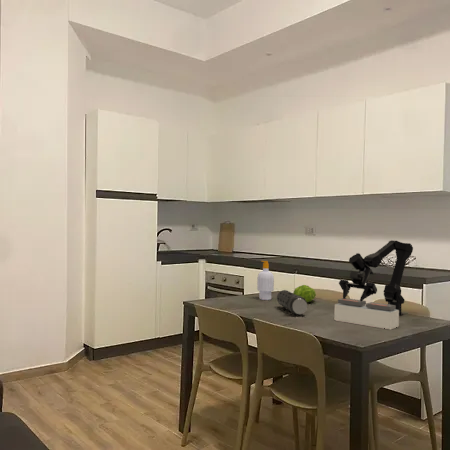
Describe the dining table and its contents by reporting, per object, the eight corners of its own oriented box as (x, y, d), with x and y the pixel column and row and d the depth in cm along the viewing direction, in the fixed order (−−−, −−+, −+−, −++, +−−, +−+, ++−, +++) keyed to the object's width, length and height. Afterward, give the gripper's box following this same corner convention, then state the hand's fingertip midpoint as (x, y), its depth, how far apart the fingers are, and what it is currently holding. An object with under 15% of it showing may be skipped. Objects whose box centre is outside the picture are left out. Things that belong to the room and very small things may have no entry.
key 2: (371, 305, 234) (371, 302, 233) (395, 309, 225) (395, 305, 225) (365, 307, 229) (366, 303, 229) (390, 310, 221) (390, 306, 221)
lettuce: (320, 290, 306) (304, 278, 309) (317, 294, 283) (300, 280, 286) (308, 305, 308) (292, 293, 311) (305, 309, 284) (288, 296, 287)
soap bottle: (256, 297, 307) (257, 260, 307) (273, 298, 306) (273, 260, 306) (257, 300, 297) (257, 261, 296) (274, 300, 296) (274, 261, 296)
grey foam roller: (292, 307, 275) (292, 289, 275) (308, 317, 247) (309, 297, 247) (276, 307, 273) (276, 289, 273) (291, 317, 245) (291, 297, 245)
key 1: (343, 301, 244) (343, 297, 244) (365, 304, 236) (365, 300, 236) (338, 302, 239) (338, 299, 239) (360, 306, 231) (360, 302, 231)
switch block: (343, 317, 245) (343, 302, 245) (398, 326, 226) (398, 309, 226) (334, 320, 239) (334, 304, 239) (390, 329, 219) (390, 312, 219)
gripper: (340, 264, 247) (329, 287, 239) (375, 266, 235) (364, 291, 227) (348, 278, 253) (337, 301, 245) (381, 281, 241) (371, 305, 233)
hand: (351, 299), depth 237 cm, fingers open, 9 cm apart
